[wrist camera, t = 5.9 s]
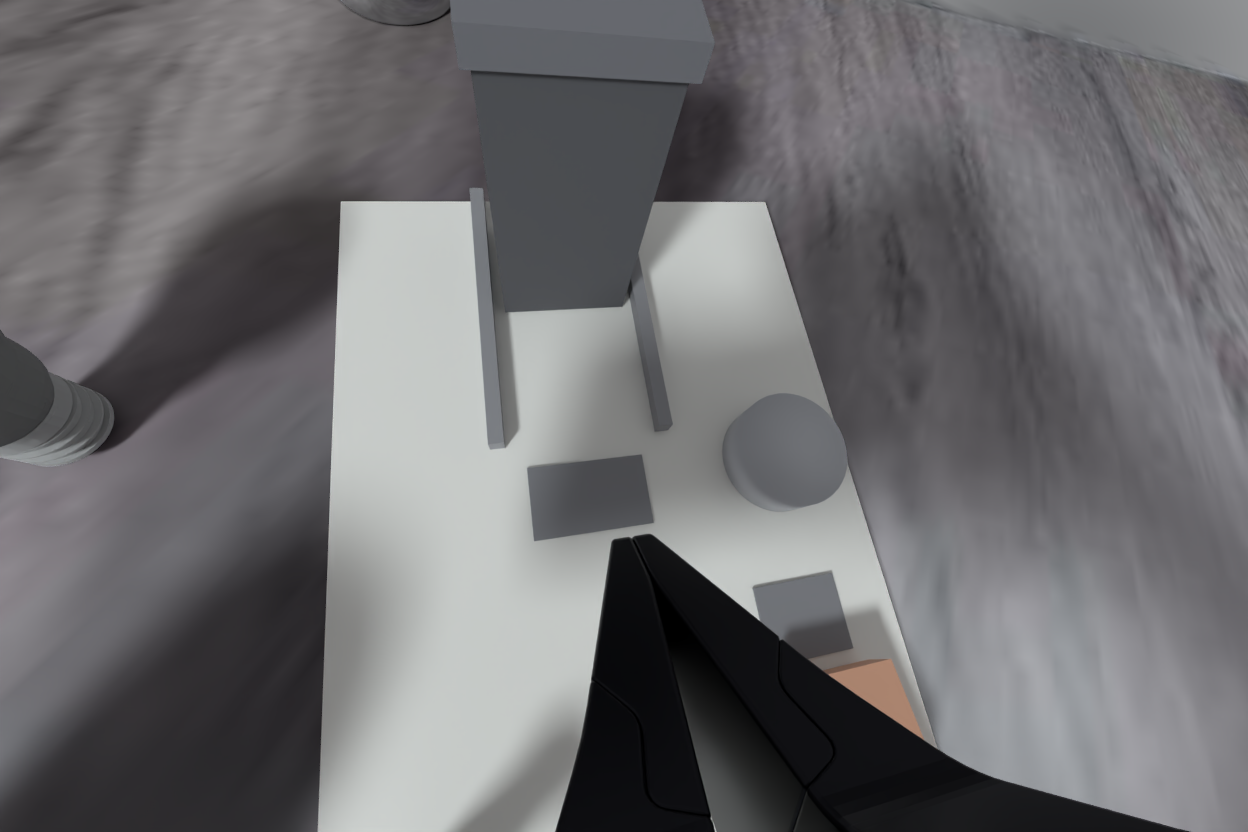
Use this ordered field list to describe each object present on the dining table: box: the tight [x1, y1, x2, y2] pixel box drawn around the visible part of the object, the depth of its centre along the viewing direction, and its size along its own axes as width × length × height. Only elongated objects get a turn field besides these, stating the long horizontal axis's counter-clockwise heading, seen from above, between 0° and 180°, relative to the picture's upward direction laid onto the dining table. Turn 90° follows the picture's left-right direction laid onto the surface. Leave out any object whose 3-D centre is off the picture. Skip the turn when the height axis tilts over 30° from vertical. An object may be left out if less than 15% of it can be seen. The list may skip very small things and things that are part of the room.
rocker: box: [823, 659, 924, 740], centre depth 13 cm, size 6×4×1 cm, turn 9°
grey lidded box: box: [450, 0, 715, 312], centre depth 14 cm, size 4×5×10 cm
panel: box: [318, 188, 938, 832], centre depth 15 cm, size 28×18×3 cm, turn 9°
